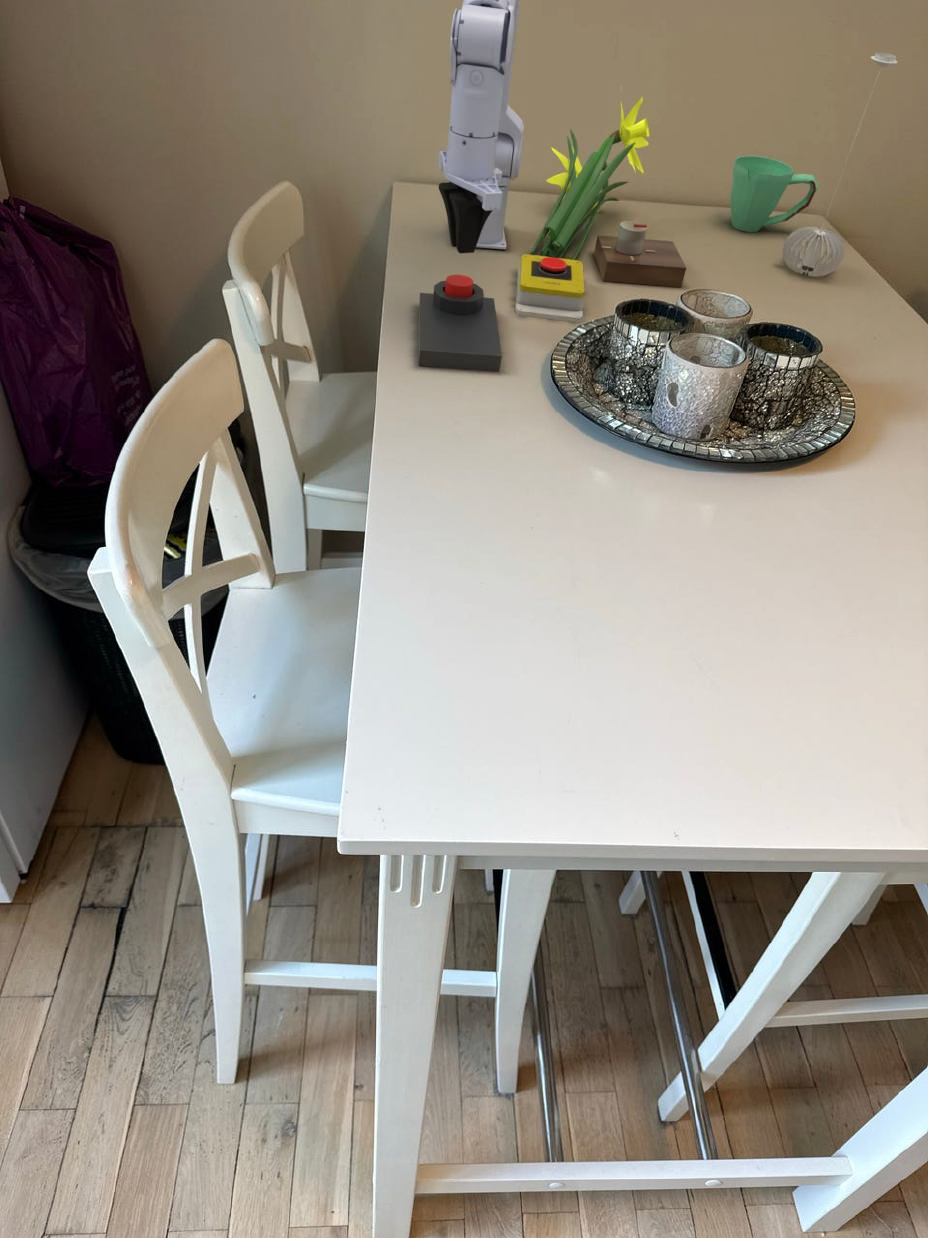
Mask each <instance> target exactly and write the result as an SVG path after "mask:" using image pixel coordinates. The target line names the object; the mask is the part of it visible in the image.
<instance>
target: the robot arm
mask: <svg viewBox="0 0 928 1238" xmlns="http://www.w3.org/2000/svg"><path fill="white" fill-rule="evenodd" d="M461 5H462V6H461V9H458V8H455V9H454V12H453V16H452V20H451V27H450V36H449V38H450V39H449V56H450V75H449V76H450V77H449V79H450V81H449V84H450V85H452V88H451V97H450V108H449V109H450V112H449V122H448V123H449V124H448V137H447V150H443V151H442V150H441V151H439V155H438V169H440V170H441V171H443V176H444V179H445V180H447V182H441V183H439V184H438V191H439V193H440V195H441V198H442V201H443V204H444V208H445V213H446V217H447V223H448V224H447V225H448V233H449V239H450V244H451V246H452V248H456V251H457V252H458V254H473V253H475V251H476V248H480V249H492V250H493V249H494V250H506V249H507V241H506V235H505V229H504V227H505V221H506V212H507V203H508V195H509V189H510V188H509V186H510V183H511V181H513V182H515V181H516V179H518V178H519V175H520V169H521V163H522V157H523V156H522V155H523V148H524V131H525V125H524V121H523V120H522V119H521V117H520V116H519V115H518V114H517V113H516V112H515V111H514V110H513V108H512V107H511V106H510V105H509V101H510V91H511V83H512V73H513V65H514V59H515V58H514V57H515V47H516V40H517V39H516V38H517V30H518V22H519V13H520V5H521V0H463V1H462V4H461Z"/></svg>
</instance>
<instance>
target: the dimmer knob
mask: <svg viewBox="0 0 928 1238" xmlns="http://www.w3.org/2000/svg"><path fill="white" fill-rule="evenodd" d="M647 231H648V225H647V224H646V223H645V224H644V223H642V222H638V221H635V220H624V221H621V222H620V223H619V228H618V232H617V236H616V237H617V241H616V246H615V249H616V250H617V251H619V252H621V253H624V254H628V255H637V254H640V253H641V251H642V247H643V243H644V239H646V233H647Z"/></svg>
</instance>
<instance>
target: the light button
mask: <svg viewBox="0 0 928 1238" xmlns="http://www.w3.org/2000/svg"><path fill="white" fill-rule="evenodd" d="M445 281H446V285H445V293H446V294H447V295H450V296H453V297H463V298H465V297H470V296H472V292H473V283H474V280H473V278H471V277H470V276H468V275H465V274H464V275H463V274H451V275H448V276H446V278H445Z"/></svg>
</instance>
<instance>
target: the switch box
mask: <svg viewBox="0 0 928 1238" xmlns="http://www.w3.org/2000/svg"><path fill="white" fill-rule="evenodd" d="M445 285H446V280H440V281H439V282H437V283H436V284H434V286H433V293H431V292H430V293H429V292H419V298H418V299H419V300H418V301H419V302H418V367H423V368H424V367H425V368H442V369H454V370H469V371H483V372H496V373H497V372H499V373H500V371H501V366H502V365H501V364H502V357H503V355H502V349H501V340H500V333H499V327H498V318H497V311H496V305H495V304H496V303H495V298H493V297H485V296H484V295H485V293H484V289H483V288H482V287H480V286H479V285H478V284H477V283H474V282H473V292H472V296H470V297H465V298H463V297H453V296H450V295H447V294H446V293H445Z"/></svg>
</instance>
